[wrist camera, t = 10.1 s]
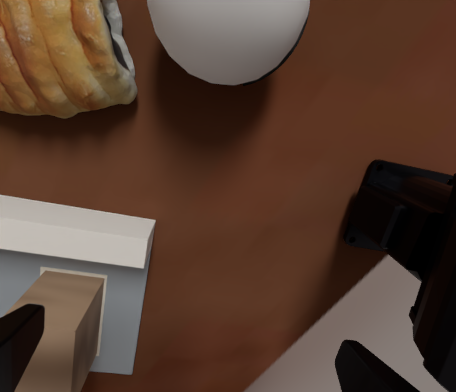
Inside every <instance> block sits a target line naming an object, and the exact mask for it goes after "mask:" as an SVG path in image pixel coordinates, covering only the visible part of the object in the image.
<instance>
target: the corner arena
mask: <svg viewBox="0 0 456 392" xmlns="http://www.w3.org/2000/svg"><path fill="white" fill-rule="evenodd" d="M155 221H156V220H152V219H146V218H140V217H133V216H127V215H121V214H115V213H109V212H103V211H97V210H90V209H84V208H78V207H72V206H66V205H60V204H54V203H47V202H41V201H35V200H29V199H23V198H17V197H10V196H4V195H0V318H1V317H3V316H4V315H5V314H6V313H7V311H8V310H9V309H10V308H11V307H12V306H13V305H14V304H15V303H16V302H17V301H18V300H19V298H20V297H21V296H22V295H23V294H24V293H25V292H26V291H27V290H28V289H29V288H30V287H31V286H32V284H33V283H34V282H35V281H36V280H37V279H38V278H39V277H40V276H41V275H42V274H43V273H44V271H45V270H46V271H53V272H61V273H68V274H76V275H83V276H91V277H99V278H104V288H103V298H102V307H101V317H100V327H99V336H98V346H97V354H96V356H95V359H94V361H93V363H92V366H91V368H90V371H94V372H106V373H117V374H129V375H132V372H133V366H134V360H135V353H136V346H137V340H138V333H139V327H140V320H141V314H142V307H143V300H144V294H145V287H146V281H147V274H148V267H149V261H150V254H151V248H152V241H153V234H154V228H155Z"/></svg>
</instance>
